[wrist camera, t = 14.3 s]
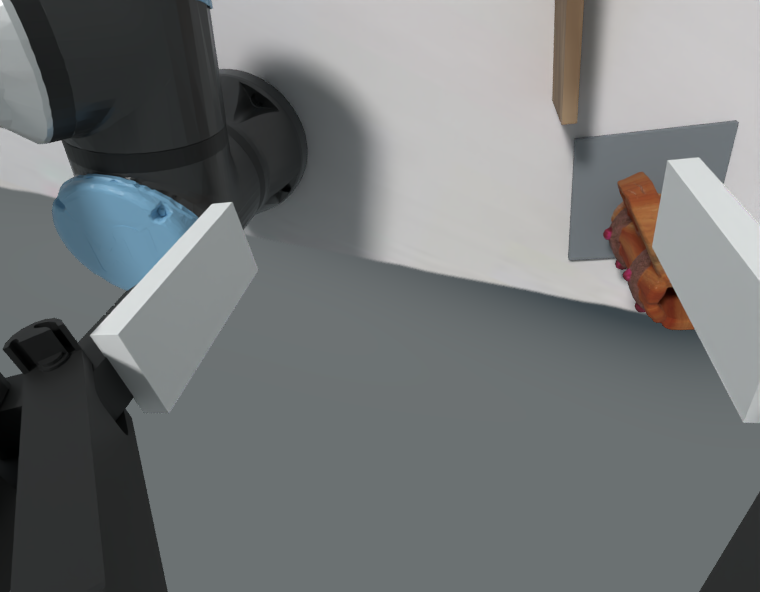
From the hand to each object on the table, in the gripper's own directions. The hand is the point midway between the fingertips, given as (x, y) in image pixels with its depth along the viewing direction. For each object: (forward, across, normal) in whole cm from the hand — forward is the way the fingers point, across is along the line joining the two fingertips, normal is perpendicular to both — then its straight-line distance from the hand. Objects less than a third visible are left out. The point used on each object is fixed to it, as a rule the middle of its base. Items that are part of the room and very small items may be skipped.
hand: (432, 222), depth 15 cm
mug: (+36, +16, -19) cm, 44 cm away
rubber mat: (+37, +17, -19) cm, 45 cm away
